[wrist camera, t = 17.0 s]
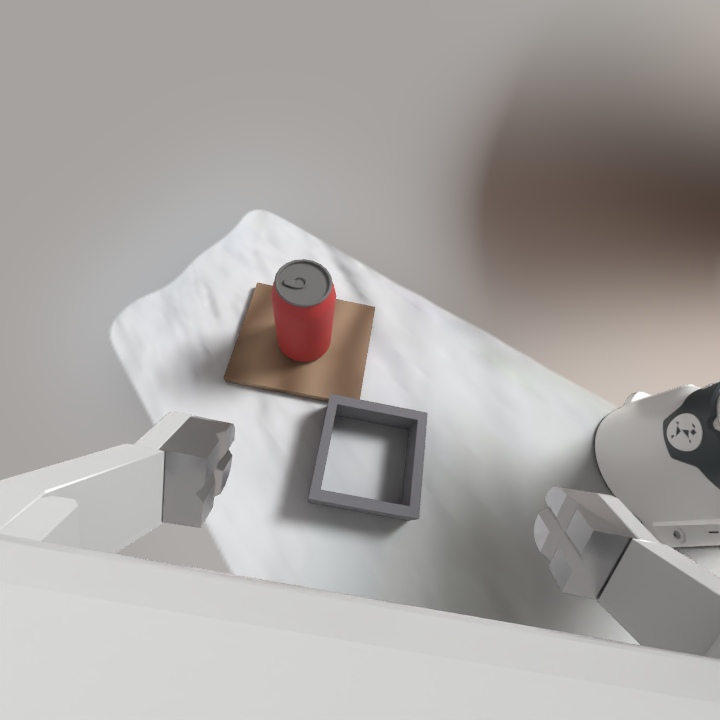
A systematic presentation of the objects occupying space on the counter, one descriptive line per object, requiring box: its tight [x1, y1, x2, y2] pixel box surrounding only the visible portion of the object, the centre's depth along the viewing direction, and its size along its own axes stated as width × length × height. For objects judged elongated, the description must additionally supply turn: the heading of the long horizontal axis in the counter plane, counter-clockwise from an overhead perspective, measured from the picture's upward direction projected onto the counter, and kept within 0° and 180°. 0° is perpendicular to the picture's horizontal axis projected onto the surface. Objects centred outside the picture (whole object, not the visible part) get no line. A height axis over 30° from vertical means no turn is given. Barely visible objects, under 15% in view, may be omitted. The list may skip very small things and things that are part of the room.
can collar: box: [308, 394, 427, 521], centre depth 41 cm, size 11×11×4 cm
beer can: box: [271, 259, 336, 362], centre depth 42 cm, size 7×7×12 cm
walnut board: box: [224, 283, 375, 401], centre depth 47 cm, size 16×14×1 cm
